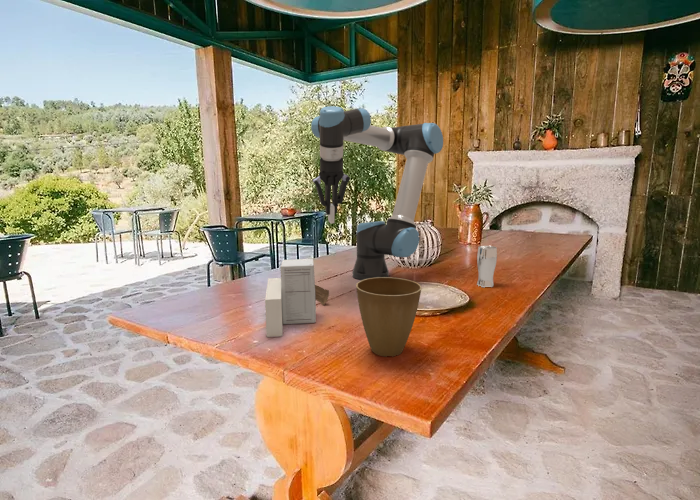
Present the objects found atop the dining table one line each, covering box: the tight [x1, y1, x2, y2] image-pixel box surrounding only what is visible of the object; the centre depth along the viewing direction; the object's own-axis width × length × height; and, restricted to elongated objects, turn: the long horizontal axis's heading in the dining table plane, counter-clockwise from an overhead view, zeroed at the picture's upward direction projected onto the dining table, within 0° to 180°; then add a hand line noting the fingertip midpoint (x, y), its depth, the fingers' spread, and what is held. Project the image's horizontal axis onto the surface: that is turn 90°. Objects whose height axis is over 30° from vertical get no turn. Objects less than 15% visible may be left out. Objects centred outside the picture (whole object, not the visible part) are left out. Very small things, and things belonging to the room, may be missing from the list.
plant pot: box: [355, 276, 423, 357], centre depth 89 cm, size 15×15×16 cm
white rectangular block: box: [264, 277, 283, 338], centre depth 109 cm, size 4×22×10 cm, turn 10°
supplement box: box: [280, 258, 317, 325], centre depth 111 cm, size 10×9×17 cm
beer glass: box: [476, 245, 498, 288], centre depth 146 cm, size 7×7×15 cm
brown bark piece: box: [315, 284, 330, 307], centre depth 130 cm, size 15×2×5 cm, turn 37°
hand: (331, 221), depth 137 cm, fingers closed
